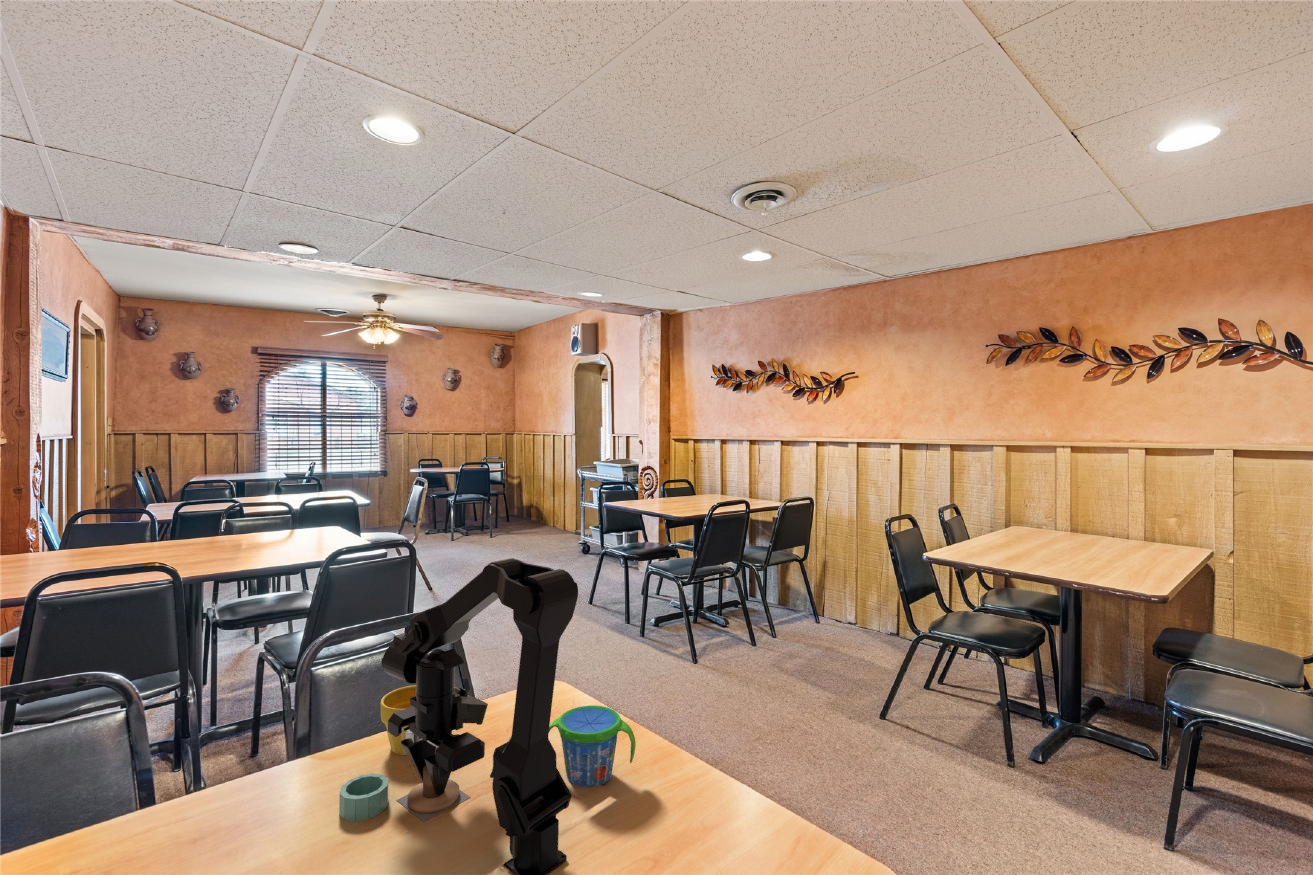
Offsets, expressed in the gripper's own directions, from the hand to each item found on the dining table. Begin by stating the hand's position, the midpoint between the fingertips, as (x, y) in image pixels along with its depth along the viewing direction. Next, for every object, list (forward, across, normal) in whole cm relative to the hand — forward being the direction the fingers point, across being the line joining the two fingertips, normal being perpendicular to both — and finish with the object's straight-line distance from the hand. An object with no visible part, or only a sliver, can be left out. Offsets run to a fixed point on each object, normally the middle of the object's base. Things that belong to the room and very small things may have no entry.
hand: (433, 789), depth 95 cm
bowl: (+2, +6, +8) cm, 10 cm away
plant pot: (+2, +18, -6) cm, 19 cm away
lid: (+1, 0, 0) cm, 1 cm away
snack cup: (+2, -13, -21) cm, 25 cm away
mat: (+2, 0, 0) cm, 2 cm away
